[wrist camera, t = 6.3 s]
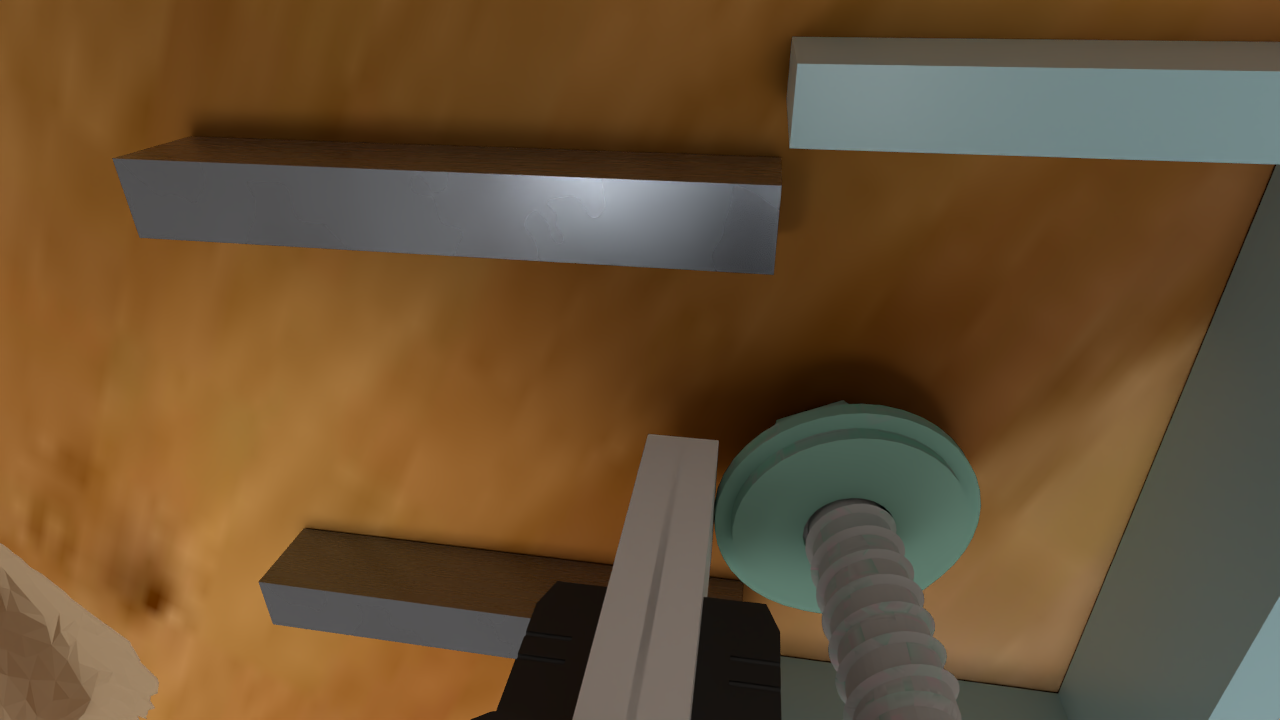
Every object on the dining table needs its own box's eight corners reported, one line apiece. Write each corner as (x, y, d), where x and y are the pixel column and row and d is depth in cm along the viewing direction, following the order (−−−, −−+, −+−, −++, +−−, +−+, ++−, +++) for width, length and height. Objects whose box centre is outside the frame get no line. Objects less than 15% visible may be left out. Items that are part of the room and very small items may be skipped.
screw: (677, 396, 15) (916, 321, 14) (749, 560, 17) (960, 506, 16) (685, 872, 7) (1224, 783, 6) (814, 1059, 10) (1228, 1016, 9)
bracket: (791, 36, 12) (797, 63, 9) (1402, 43, 11) (1695, 77, 7) (735, 675, 20) (725, 825, 16) (1089, 725, 18) (1161, 900, 15)
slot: (189, 136, 15) (112, 158, 13) (781, 157, 13) (781, 186, 11) (315, 568, 21) (273, 624, 19) (739, 623, 19) (735, 690, 17)
